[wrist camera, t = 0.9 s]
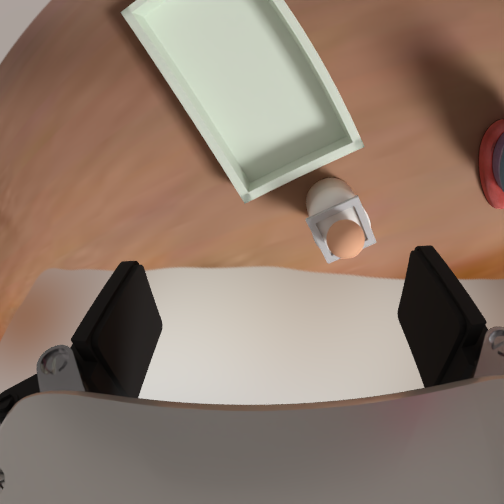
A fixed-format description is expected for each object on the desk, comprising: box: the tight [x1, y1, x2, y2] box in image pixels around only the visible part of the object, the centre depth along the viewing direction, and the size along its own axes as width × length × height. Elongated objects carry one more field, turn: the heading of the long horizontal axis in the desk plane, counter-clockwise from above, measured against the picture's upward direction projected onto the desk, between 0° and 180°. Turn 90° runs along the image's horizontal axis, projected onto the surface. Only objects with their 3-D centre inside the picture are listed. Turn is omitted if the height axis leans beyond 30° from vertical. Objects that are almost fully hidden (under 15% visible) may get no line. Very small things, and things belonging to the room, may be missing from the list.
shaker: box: [306, 178, 376, 263], centre depth 29 cm, size 5×5×7 cm
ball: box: [326, 219, 365, 259], centre depth 25 cm, size 3×3×3 cm
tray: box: [121, 0, 364, 203], centre depth 23 cm, size 12×22×4 cm, turn 30°
